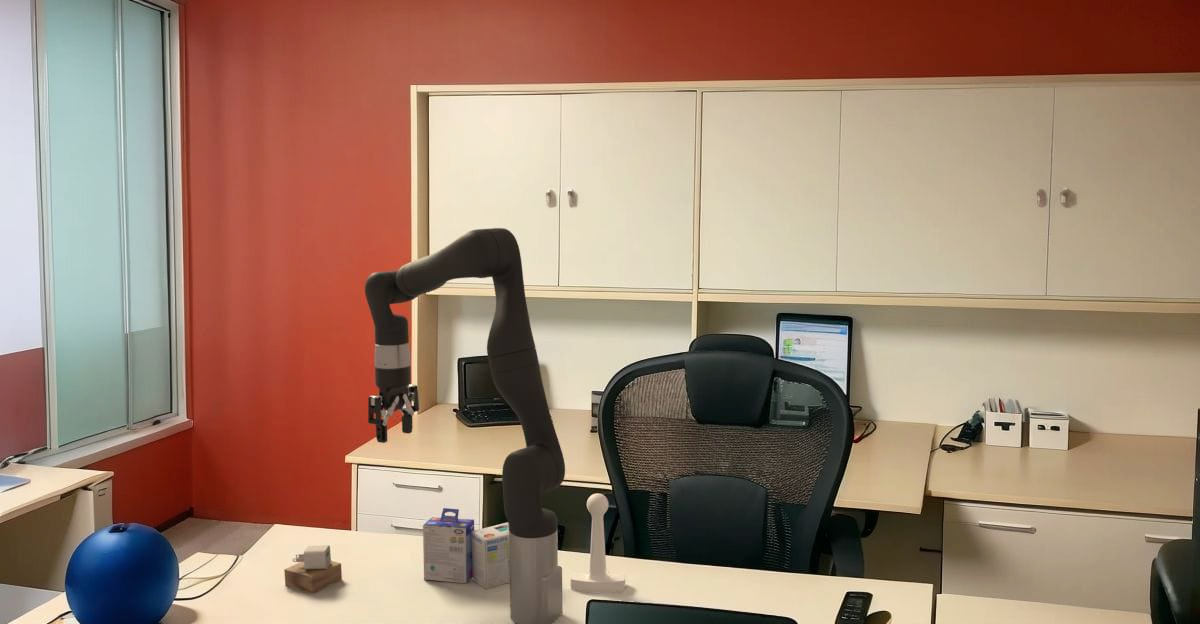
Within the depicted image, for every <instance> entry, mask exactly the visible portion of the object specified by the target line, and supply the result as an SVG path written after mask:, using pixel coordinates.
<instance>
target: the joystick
mask: <svg viewBox="0 0 1200 624" xmlns="http://www.w3.org/2000/svg"><path fill="white" fill-rule="evenodd" d="M586 508H587V510H588V512H589V513H590V515H591V530H590V531H591V534H590V550H589V551H590V552H589V553H590V554H589V570H588V571H589V572H588V573H582V572H578V571H577V572H576V571H573V572H571V574H570V590H572V591H578V592H586V593H596V594H597V593H598V592H605V593H620V592H619V591H621V592H624V591H625V590H626V574H625V573H615V574H612V573H610V572H609V569H608V568H607V564H606V563H607V560H606V559H607V558H606V546H605V545H606V544H605V543H606V542H605V528H604V527H605V526H604V515H605V513H607V511H608V509H609V500H608V498H607V497H606V496H605V495H604V494H602V493H600V492H599V493H593V494H591V495H590V496H589V497H588V498H587V501H586Z"/></svg>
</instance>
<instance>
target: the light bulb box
mask: <svg viewBox="0 0 1200 624" xmlns="http://www.w3.org/2000/svg"><path fill="white" fill-rule="evenodd" d="M471 545H472V574H473V577H472V580H474V581H475V582H476V583H477V584H479V585H480V586H481V587H482V588H484V589H485V590H487V589H491V588H495V587H498V586H502V585H506V584H510V571H509V524H508V521H506V522H503V523H500V524H496V525H493V526H487V527H484V528H480V529H474V531H471Z"/></svg>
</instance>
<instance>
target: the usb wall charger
mask: <svg viewBox="0 0 1200 624" xmlns="http://www.w3.org/2000/svg"><path fill="white" fill-rule="evenodd" d="M331 561H332V557H331V546H330V544H327V545H326V544H324V545H308V546H307V547H306V548H305V549H304V551H303V554H295V558H292V562H293V563H300V562H304V567H305V570H311V569H327V568H328V566H329V565H330V563H331Z"/></svg>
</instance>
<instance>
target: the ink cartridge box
mask: <svg viewBox="0 0 1200 624" xmlns="http://www.w3.org/2000/svg"><path fill="white" fill-rule="evenodd" d="M459 511H460V509H459V508H449V507H448V508H447V507H443V508H442V512H441V516H440V517H434V516H432V517H431V518H430V519H428V520H427V521H426V522H425V523H424V524H423V525H422V535H423V536H422V540H423V541H422V543H423V546H422V549H423V580H425V581H435V582H436V581H437V582H438V581H439V582H449V583H459V584H460V583H462V584H463V583H464V584H467V583H468V582H469V581H470V580H471V579H473V574H472V545H471V531H474V530H475V519H471V518H459ZM446 513H452V514H454V515H446Z"/></svg>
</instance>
